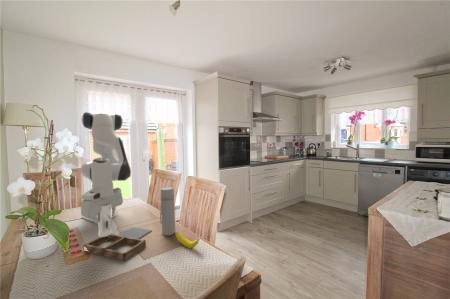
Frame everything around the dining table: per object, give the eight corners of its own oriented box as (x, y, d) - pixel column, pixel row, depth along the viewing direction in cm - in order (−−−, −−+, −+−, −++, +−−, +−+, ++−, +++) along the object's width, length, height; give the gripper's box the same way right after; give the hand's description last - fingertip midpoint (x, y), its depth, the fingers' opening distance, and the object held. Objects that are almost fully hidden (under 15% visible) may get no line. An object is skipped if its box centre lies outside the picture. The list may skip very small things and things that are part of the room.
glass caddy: (84, 251, 100) (83, 245, 100) (107, 238, 112) (107, 233, 112) (124, 260, 91) (124, 254, 91) (145, 246, 103) (145, 240, 103)
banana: (177, 238, 110) (177, 227, 110) (201, 251, 97) (201, 238, 97) (172, 241, 108) (172, 228, 108) (196, 254, 95) (196, 240, 95)
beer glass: (101, 231, 106) (99, 202, 106) (115, 231, 107) (114, 201, 106) (93, 238, 100) (92, 206, 99) (109, 237, 100) (108, 206, 100)
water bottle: (178, 231, 119) (177, 187, 118) (169, 237, 112) (167, 190, 110) (165, 228, 123) (164, 186, 121) (156, 234, 116) (154, 189, 114)
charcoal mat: (115, 237, 114) (115, 236, 113) (132, 228, 125) (132, 227, 125) (135, 241, 109) (135, 240, 109) (151, 231, 120) (151, 230, 120)
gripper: (116, 186, 113) (117, 211, 114) (77, 196, 94) (79, 226, 95) (125, 187, 111) (126, 212, 112) (87, 197, 92) (89, 228, 93)
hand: (104, 219), depth 103 cm, fingers closed on beer glass, 6 cm apart
